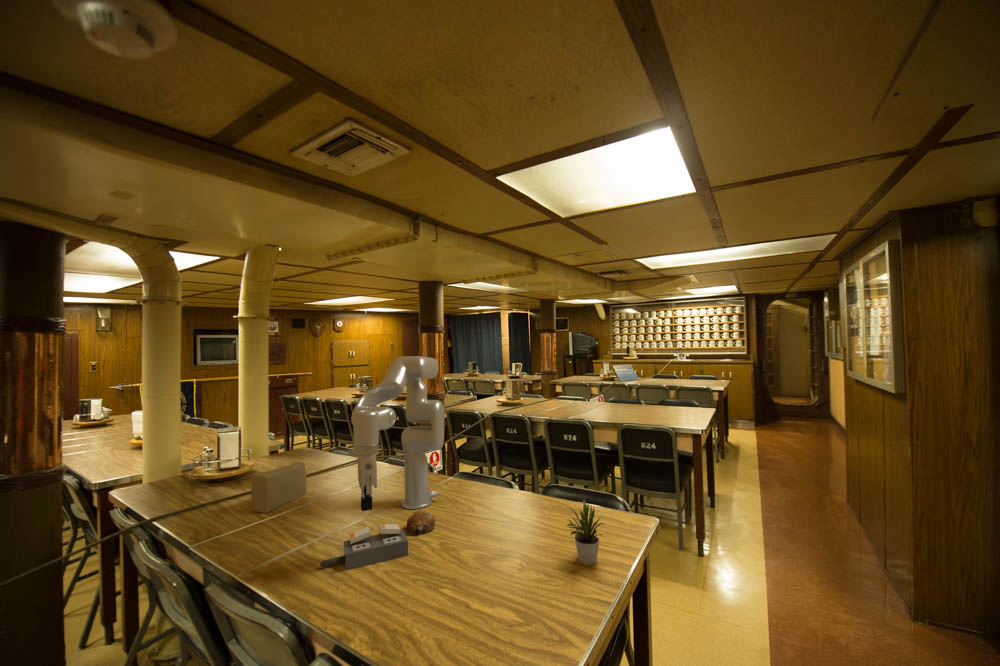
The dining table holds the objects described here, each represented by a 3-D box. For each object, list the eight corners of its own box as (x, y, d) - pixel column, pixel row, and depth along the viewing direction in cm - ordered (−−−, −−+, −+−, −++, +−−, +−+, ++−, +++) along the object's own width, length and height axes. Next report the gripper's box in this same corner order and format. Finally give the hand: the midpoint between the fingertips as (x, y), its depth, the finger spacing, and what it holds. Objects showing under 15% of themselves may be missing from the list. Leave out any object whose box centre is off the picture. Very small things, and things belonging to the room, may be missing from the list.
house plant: (558, 546, 126) (557, 494, 127) (602, 545, 126) (601, 493, 127) (564, 571, 112) (562, 512, 113) (614, 571, 112) (612, 511, 112)
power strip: (402, 542, 132) (402, 527, 132) (408, 555, 123) (407, 538, 124) (319, 561, 121) (319, 544, 121) (320, 576, 113) (319, 558, 113)
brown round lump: (437, 537, 143) (441, 512, 146) (424, 536, 134) (429, 510, 138) (413, 533, 146) (418, 510, 150) (399, 532, 138) (404, 507, 141)
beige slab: (298, 492, 183) (297, 459, 183) (313, 495, 179) (312, 461, 179) (250, 510, 163) (250, 473, 163) (265, 514, 159) (265, 476, 159)
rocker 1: (369, 530, 127) (368, 526, 127) (370, 535, 123) (369, 531, 123) (349, 538, 125) (348, 534, 124) (350, 544, 121) (349, 539, 121)
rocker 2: (397, 528, 131) (398, 524, 131) (399, 533, 127) (400, 528, 127) (378, 528, 128) (379, 523, 128) (380, 533, 125) (381, 528, 125)
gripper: (382, 453, 121) (382, 515, 120) (375, 444, 134) (375, 499, 133) (355, 456, 118) (356, 520, 117) (351, 446, 131) (351, 503, 130)
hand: (366, 509), depth 125 cm, fingers closed
